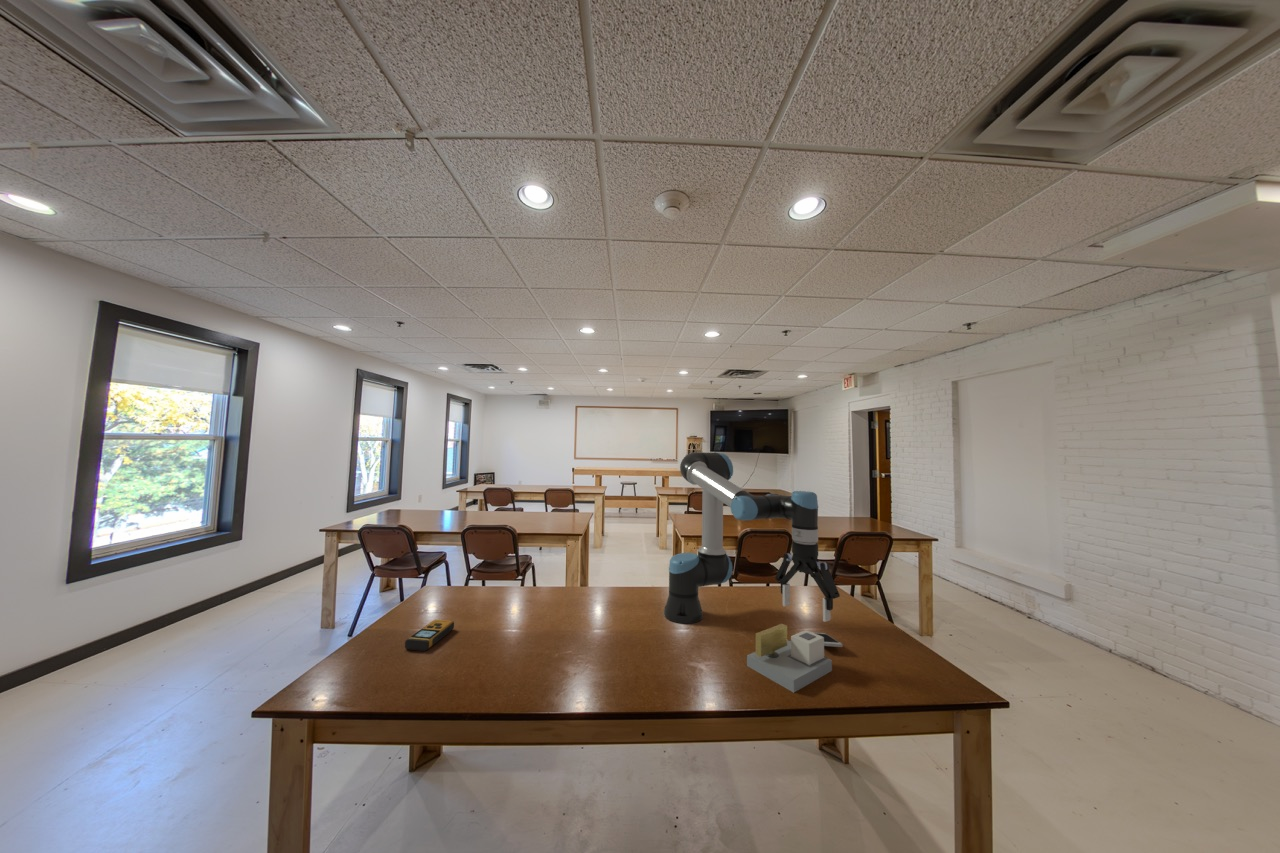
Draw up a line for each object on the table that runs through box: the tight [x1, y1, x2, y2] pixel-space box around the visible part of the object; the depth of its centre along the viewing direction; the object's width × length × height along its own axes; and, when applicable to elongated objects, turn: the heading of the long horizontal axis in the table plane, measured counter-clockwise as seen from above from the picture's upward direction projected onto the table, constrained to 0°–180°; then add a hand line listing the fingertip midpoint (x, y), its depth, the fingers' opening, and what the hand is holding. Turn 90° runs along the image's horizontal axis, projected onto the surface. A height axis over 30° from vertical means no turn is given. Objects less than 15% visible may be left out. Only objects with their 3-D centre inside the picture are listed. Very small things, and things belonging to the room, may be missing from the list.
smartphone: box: [811, 631, 843, 648], centre depth 137 cm, size 7×15×1 cm, turn 175°
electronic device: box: [404, 619, 455, 652], centre depth 134 cm, size 8×16×3 cm, turn 175°
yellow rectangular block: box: [755, 623, 788, 657], centre depth 122 cm, size 13×2×7 cm, turn 125°
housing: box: [746, 639, 833, 693], centre depth 120 cm, size 16×20×4 cm
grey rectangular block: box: [790, 629, 825, 665], centre depth 121 cm, size 6×8×6 cm
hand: (805, 612), depth 121 cm, fingers open, 13 cm apart
